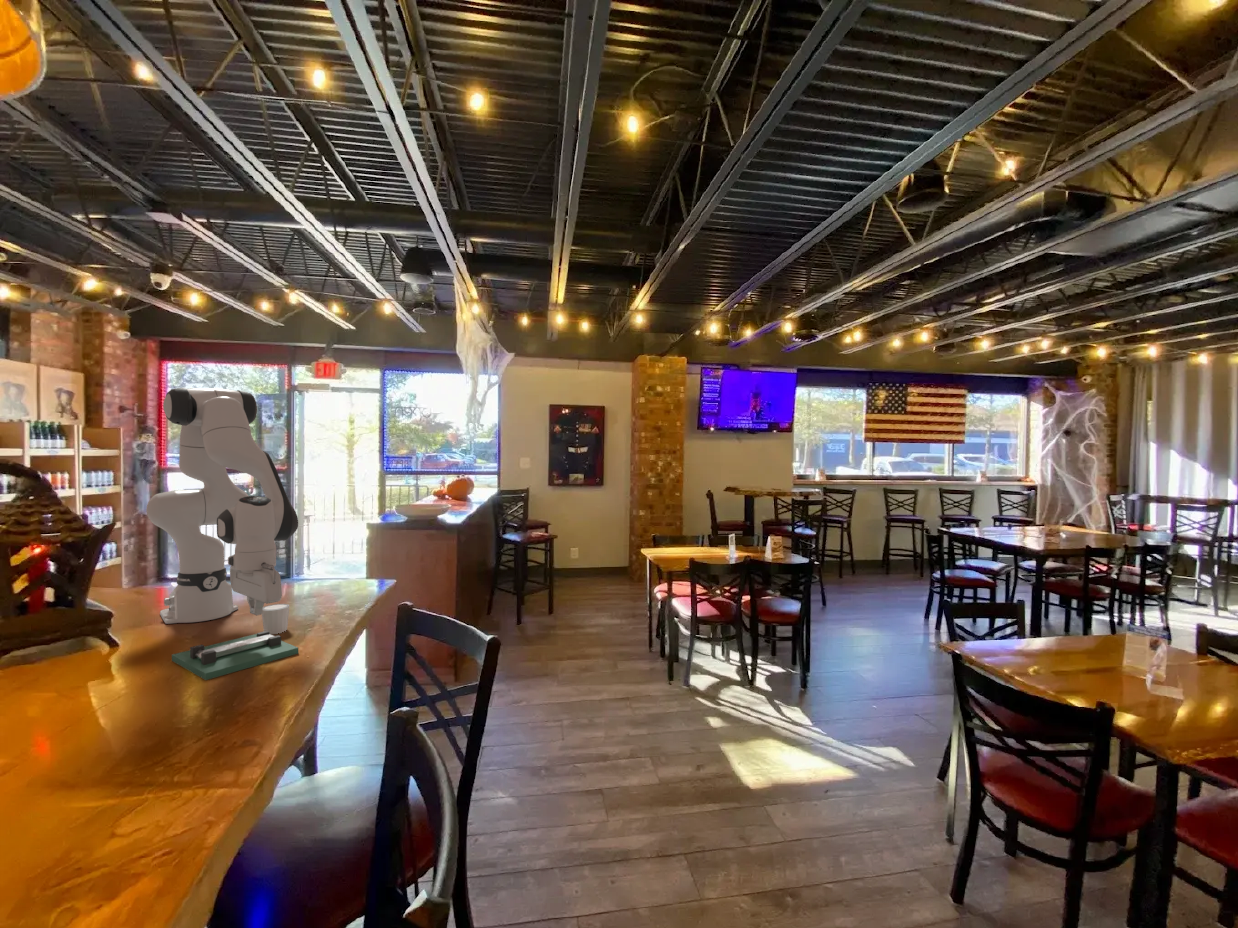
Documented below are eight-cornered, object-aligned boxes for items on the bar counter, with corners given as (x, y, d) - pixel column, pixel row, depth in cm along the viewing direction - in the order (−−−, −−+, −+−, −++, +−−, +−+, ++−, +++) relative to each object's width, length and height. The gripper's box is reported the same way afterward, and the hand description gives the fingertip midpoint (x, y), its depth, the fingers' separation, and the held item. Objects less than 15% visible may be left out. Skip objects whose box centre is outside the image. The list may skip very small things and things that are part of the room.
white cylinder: (295, 627, 162) (295, 603, 162) (278, 635, 155) (278, 610, 155) (273, 626, 163) (272, 602, 163) (255, 634, 156) (255, 609, 156)
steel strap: (195, 658, 134) (195, 651, 134) (269, 639, 148) (269, 632, 147) (201, 662, 132) (201, 654, 132) (276, 642, 145) (276, 635, 145)
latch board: (171, 660, 137) (171, 644, 137) (261, 637, 153) (261, 623, 153) (205, 680, 126) (205, 662, 125) (298, 653, 142) (298, 637, 142)
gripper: (288, 563, 140) (289, 618, 141) (251, 553, 152) (251, 604, 153) (261, 568, 135) (261, 625, 136) (224, 557, 147) (225, 609, 147)
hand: (256, 613), depth 144 cm, fingers closed
